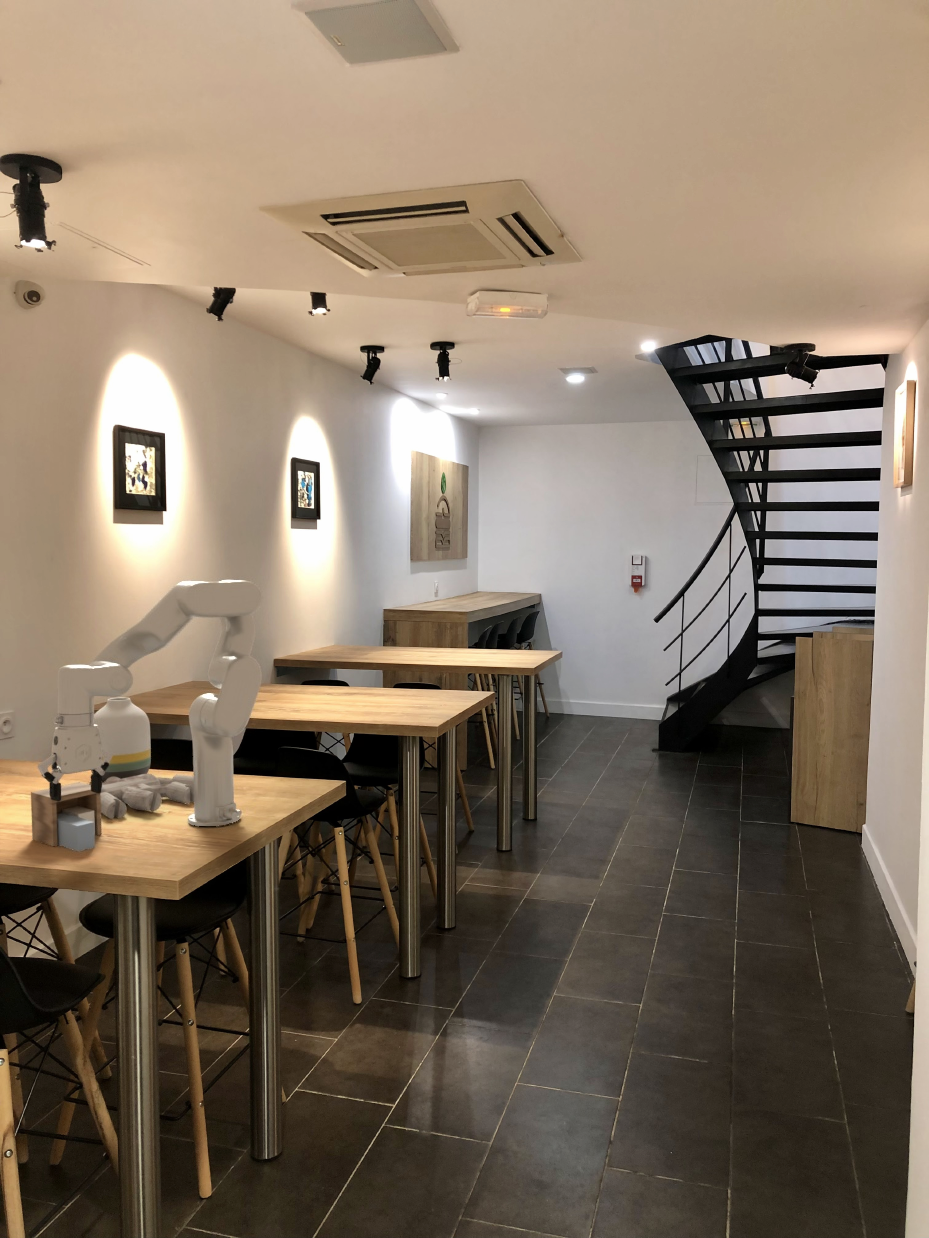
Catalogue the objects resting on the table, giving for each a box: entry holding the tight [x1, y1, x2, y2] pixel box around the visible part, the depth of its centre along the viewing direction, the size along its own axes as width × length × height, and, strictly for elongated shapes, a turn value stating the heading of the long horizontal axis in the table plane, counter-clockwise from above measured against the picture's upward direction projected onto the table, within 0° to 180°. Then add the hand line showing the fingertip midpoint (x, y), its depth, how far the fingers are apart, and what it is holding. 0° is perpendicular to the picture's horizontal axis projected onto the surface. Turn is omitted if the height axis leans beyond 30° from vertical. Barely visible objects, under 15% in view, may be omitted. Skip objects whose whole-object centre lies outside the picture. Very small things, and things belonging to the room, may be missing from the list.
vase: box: [90, 696, 152, 783], centre depth 274 cm, size 17×17×24 cm
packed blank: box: [62, 806, 96, 836], centre depth 219 cm, size 7×4×6 cm, turn 53°
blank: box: [57, 813, 96, 852], centre depth 212 cm, size 13×4×6 cm, turn 52°
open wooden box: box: [30, 781, 103, 847], centre depth 217 cm, size 9×12×11 cm
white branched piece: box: [100, 772, 194, 820], centre depth 250 cm, size 31×7×30 cm
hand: (76, 796), depth 208 cm, fingers open, 9 cm apart
